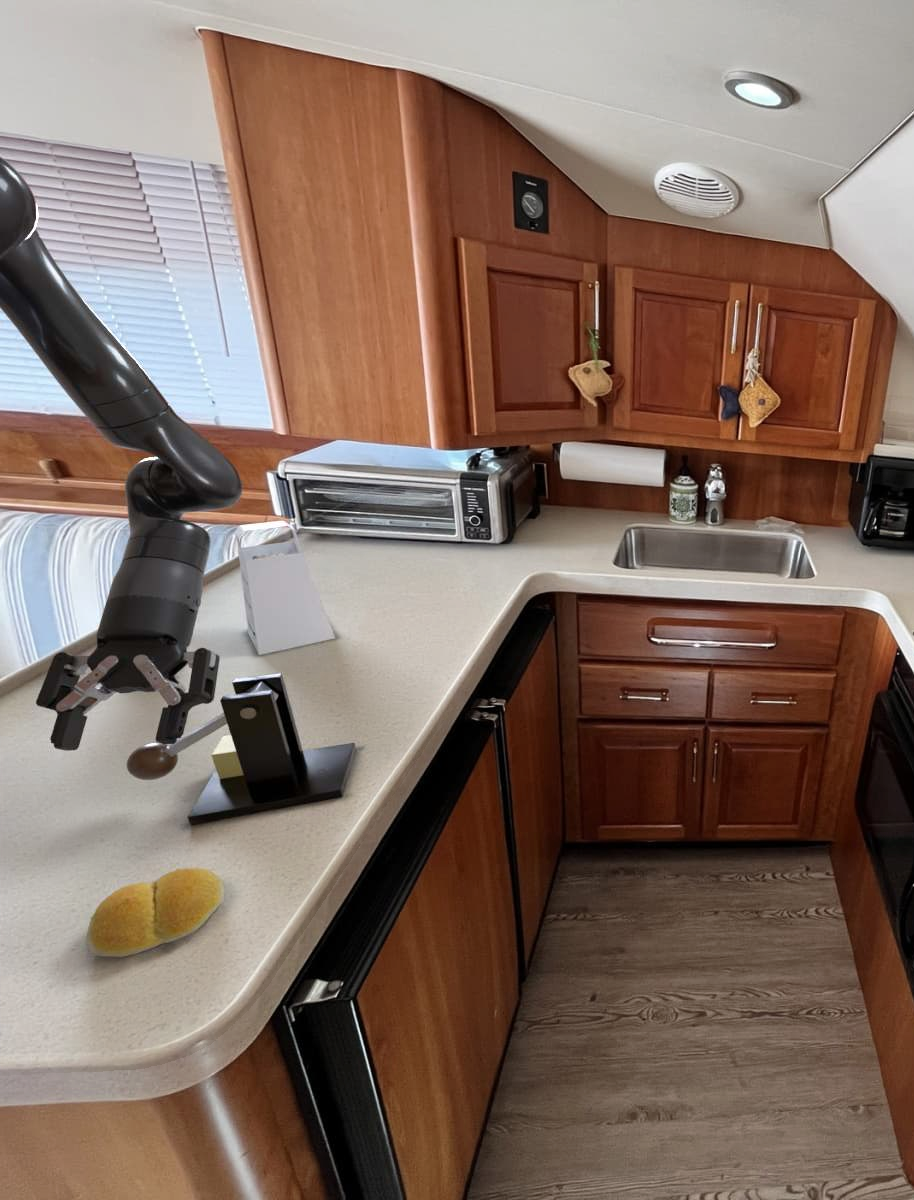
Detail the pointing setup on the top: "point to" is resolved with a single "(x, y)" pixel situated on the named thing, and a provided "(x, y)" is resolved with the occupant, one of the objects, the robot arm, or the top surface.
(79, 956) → the top surface
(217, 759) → the butter
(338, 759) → the slicer
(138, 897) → the bread roll
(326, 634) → the grater
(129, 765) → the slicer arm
